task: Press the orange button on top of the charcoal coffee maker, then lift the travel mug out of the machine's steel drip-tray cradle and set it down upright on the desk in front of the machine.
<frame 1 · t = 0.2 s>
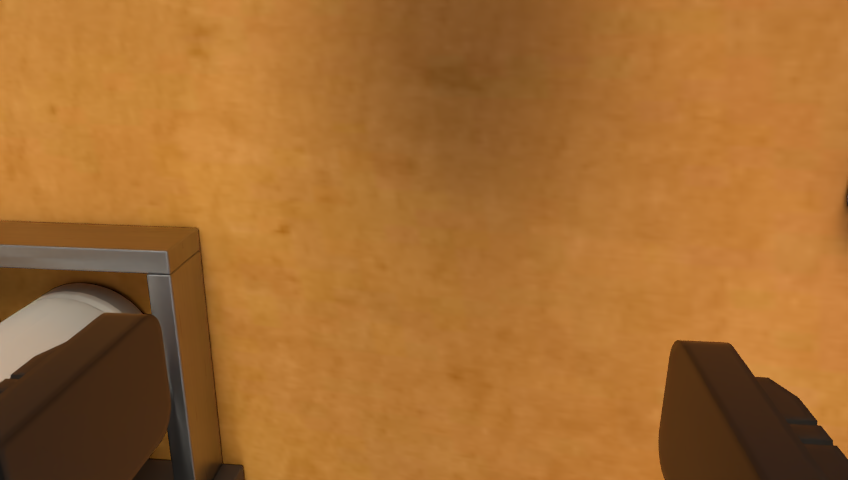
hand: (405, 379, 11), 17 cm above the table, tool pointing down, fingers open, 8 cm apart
travel mug: (98, 344, 32), resting in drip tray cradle
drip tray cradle: (96, 346, 31), on the table
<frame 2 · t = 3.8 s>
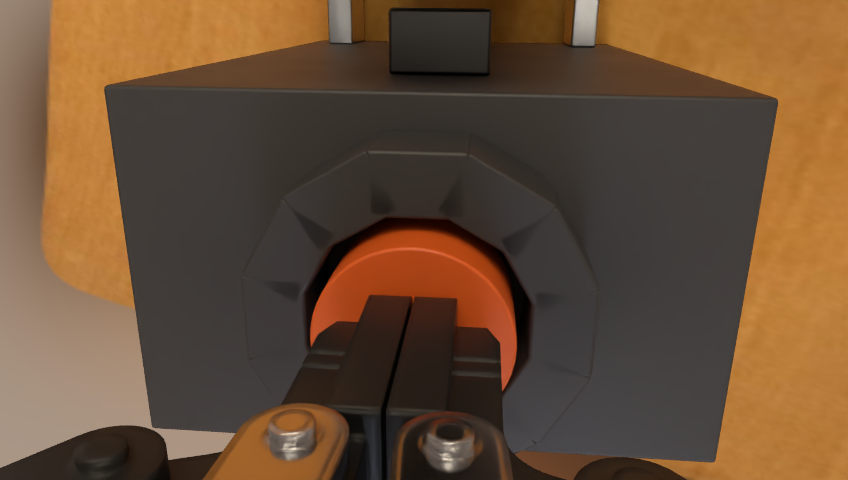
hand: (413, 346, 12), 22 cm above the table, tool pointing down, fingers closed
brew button: (417, 320, 13), point 21 cm above the table, slide at -0.8 cm, touching gripper
coffee maker: (460, 130, 32), on the table
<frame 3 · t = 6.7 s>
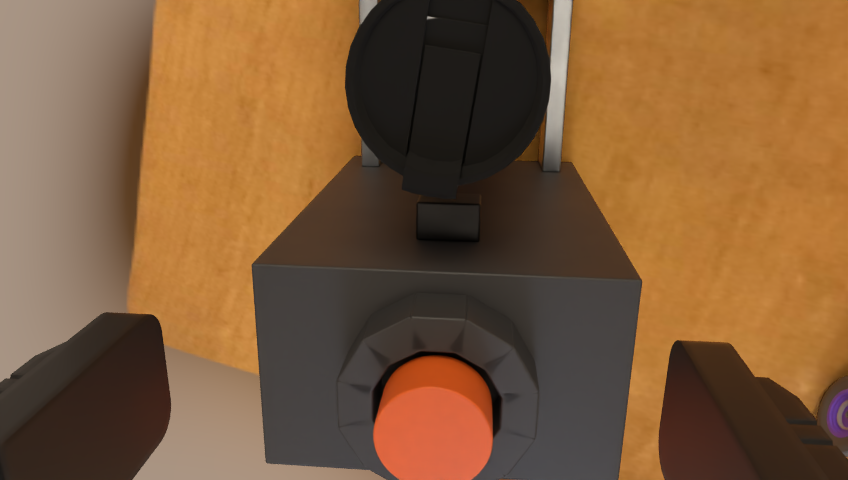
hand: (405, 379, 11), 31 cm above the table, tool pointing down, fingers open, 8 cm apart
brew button: (434, 421, 21), point 22 cm above the table, slide at 0.1 cm
travel mug: (464, 54, 39), resting in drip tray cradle
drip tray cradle: (464, 54, 39), on the table
coffee maker: (459, 223, 42), on the table
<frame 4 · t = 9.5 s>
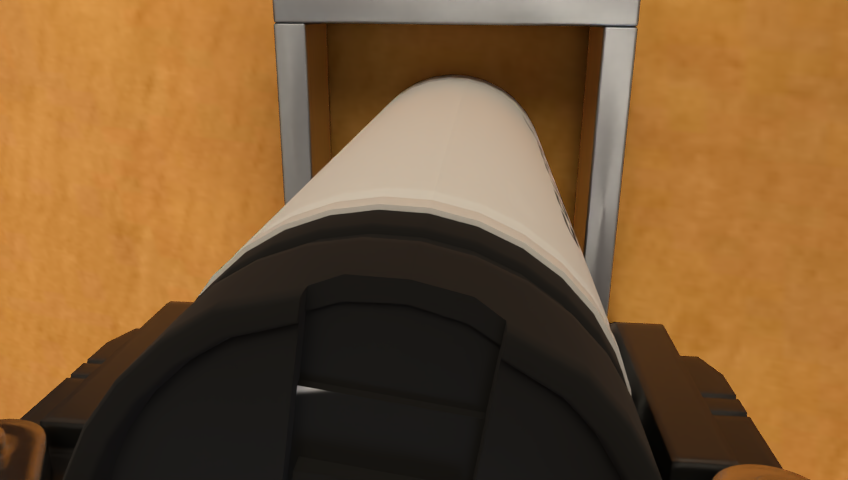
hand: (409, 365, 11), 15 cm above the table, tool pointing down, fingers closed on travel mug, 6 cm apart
travel mug: (453, 164, 25), resting in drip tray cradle, touching gripper
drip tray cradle: (452, 166, 25), on the table
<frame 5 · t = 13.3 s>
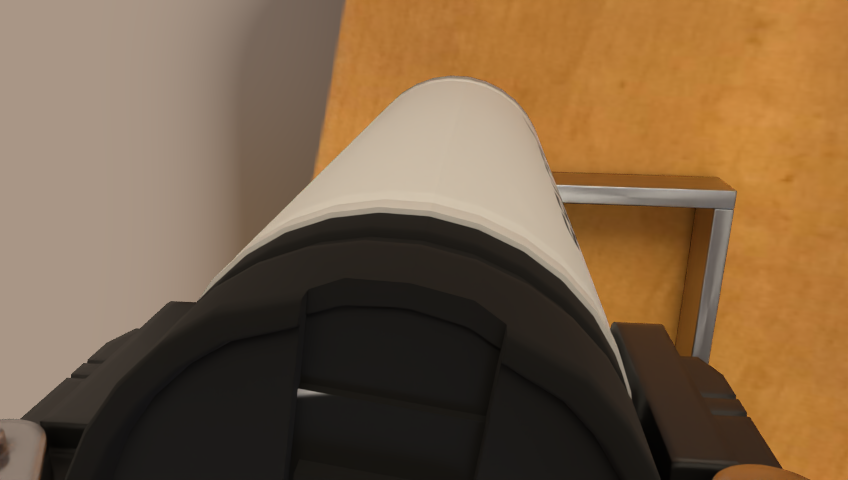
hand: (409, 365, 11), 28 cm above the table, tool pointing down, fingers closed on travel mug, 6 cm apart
travel mug: (453, 165, 25), point 13 cm above the table, touching gripper
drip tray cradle: (606, 274, 40), on the table
when the fingers open (15 cm above the table, at t = 17.0 s): travel mug stays where it is, on the table.
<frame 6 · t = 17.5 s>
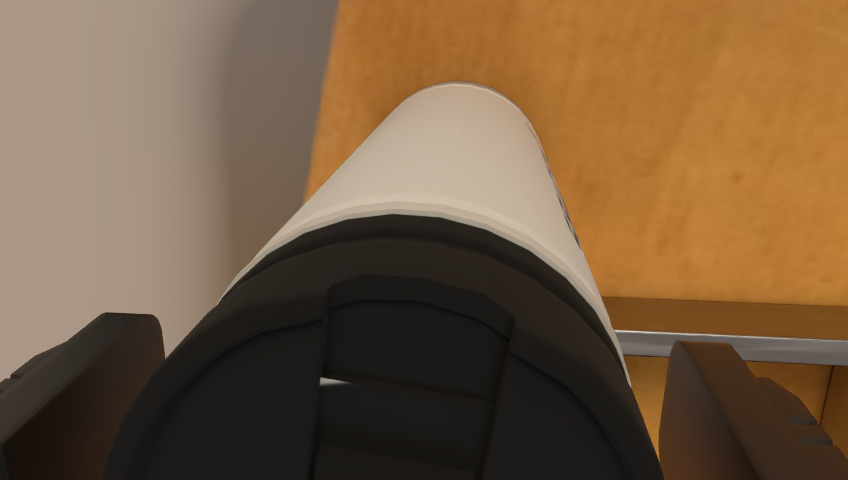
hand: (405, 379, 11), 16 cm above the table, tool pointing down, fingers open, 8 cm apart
travel mug: (457, 169, 26), on the table
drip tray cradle: (702, 434, 28), on the table
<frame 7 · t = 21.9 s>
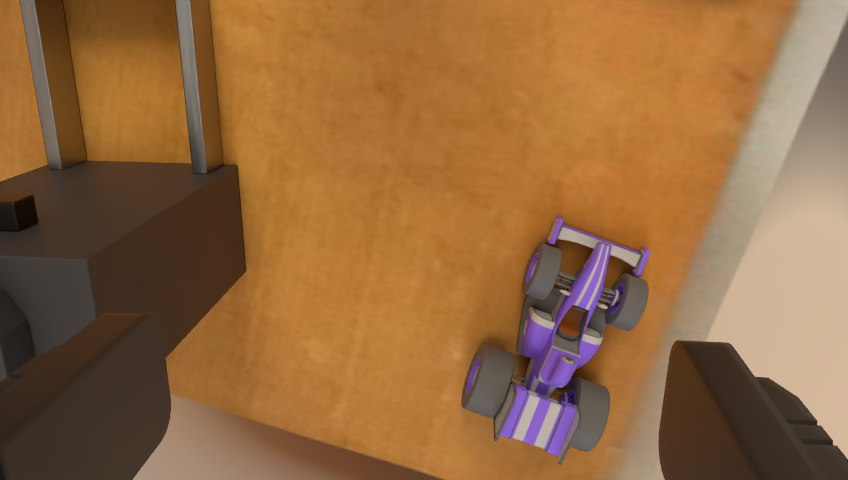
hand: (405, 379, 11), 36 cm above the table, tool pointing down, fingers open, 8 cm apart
toy race car: (558, 321, 49), on the table
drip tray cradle: (137, 75, 46), on the table
coffee maker: (154, 216, 49), on the table
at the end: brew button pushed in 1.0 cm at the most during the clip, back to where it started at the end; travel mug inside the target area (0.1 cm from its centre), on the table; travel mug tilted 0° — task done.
